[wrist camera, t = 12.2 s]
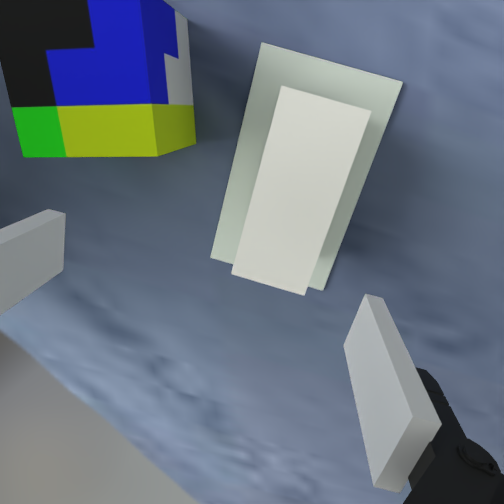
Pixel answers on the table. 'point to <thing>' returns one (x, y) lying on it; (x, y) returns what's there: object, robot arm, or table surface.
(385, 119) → the plate
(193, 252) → the table surface
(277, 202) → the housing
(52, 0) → the puzzle toy
